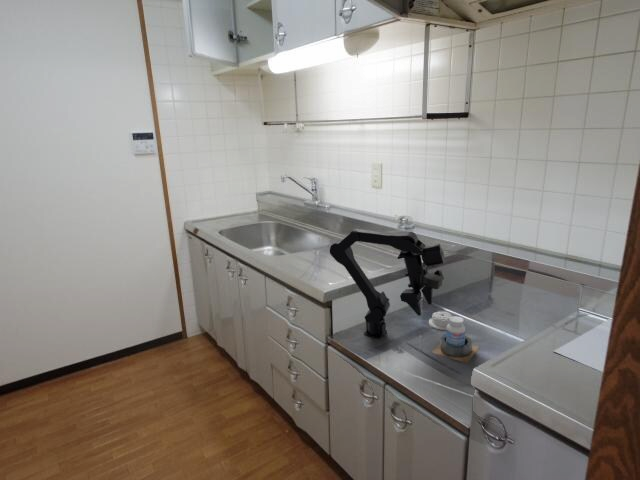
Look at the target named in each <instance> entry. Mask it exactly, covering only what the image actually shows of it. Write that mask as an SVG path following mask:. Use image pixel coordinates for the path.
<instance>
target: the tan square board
mask: <svg viewBox="0 0 640 480" xmlns="http://www.w3.org/2000/svg"><path fill="white" fill-rule="evenodd" d="M479 349H480V346H477V345H473V344H472V353H471V354H470V355H469V356H467V357H463V358H456V357H451V356H448V355H445V354H444V353H443V352H441V349H440V343H439V344H438V345H437V346H436V347H435V348H434V349H433V350H432V351H431V353H432V354H435V355H438V356H442V357H444V358H445V357H446V358H449V359H452V360H455V361H458V362H461V363H465V364H468V363H469V362H470V361H471V359H473V356H475V354H476V352H478V350H479Z"/></svg>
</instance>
